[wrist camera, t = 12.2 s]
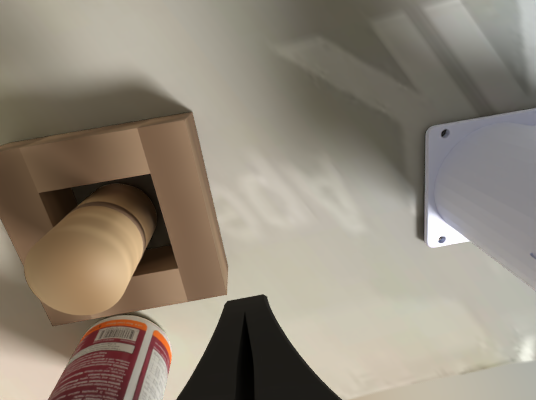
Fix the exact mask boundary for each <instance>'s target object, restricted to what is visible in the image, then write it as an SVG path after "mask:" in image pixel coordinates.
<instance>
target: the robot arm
mask: <svg viewBox="0 0 536 400" xmlns="http://www.w3.org/2000/svg"><path fill="white" fill-rule="evenodd" d="M444 129H446V134H445V135H444V136H442V137H441V132H442V131H443V130H444ZM441 236H443V237H442V239H441V240H439V241H438V239H439V238H440V237H441ZM424 241H425V243H426V244H427V245H428V246H429V247H439V246H445V245H450V244H456V243H461V242H467V241H470V242H472V243H473V244H474V245H476V246H477V247H478V248H480V249H481V250H482V251H483V252H485V253H486V254H487V255H489V256H490V257H491V258H493V259H494V260H495V261H497V262H498V263H499V264H501V265H502V266H503V267H505V268H506V269H507V270H508V271H510V272H511V273H512V274H514V275H515V276H516V277H518V278H519V279H520V280H522V281H523V282H524V283H526V284H527V285H528V286H530V287H531V288H532V289H533V290H535V291H536V108H532V109H526V110H520V111H514V112H509V113H503V114H497V115H491V116H486V117H480V118H474V119H468V120H462V121H457V122H451V123H445V124H439V125H434V126H431V127H430V128H429V129H428V130H427V131H426V135H425V220H424ZM176 400H342V399H341V398H340V397H338V396H337V395H336V394H335V393H334V392H333V391H332V390H331V389H330V388H329V387H328V386H327V385H326V384H325V383H324V382H323V381H322V380H321V379H320V378H319V377H318V376H317V375H316V374H315V372H314V371H313V370H312V369H311V368H310V367H309V366H308V364H307V363H306V362H305V361H304V360H303V358H302V357H301V356H300V355H299V353H298V352H297V351H296V349H295V348H294V347H293V345H292V344H291V342H290V341H289V339H288V338H287V336H286V335H285V333H284V332H283V330H282V329H281V327H280V325H279V324H278V322H277V320H276V318H275V316H274V314H273V312H272V310H271V308H270V306H269V303H268V299H267V296H265V295H258V296H252V297H247V298H242V299H236V300H231V301H227V302H226V304H225V305H224V309H223V311H222V314H221V317H220V319H219V322H218V324H217V327H216V329H215V331H214V333H213V336H212V338H211V340H210V342H209V344H208V346H207V348H206V350H205V352H204V354H203V356H202V358H201V360H200V361H199V363H198V365H197V367H196V369H195V371H194V372H193V374H192V376H191V377H190V379H189V381H188V382H187V384H186V386H185V387H184V389H183V390H182V392H181V393H180V395H179V396H178V398H177V399H176Z"/></svg>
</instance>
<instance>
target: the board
mask: <svg viewBox="0 0 536 400" xmlns="http://www.w3.org/2000/svg"><path fill="white" fill-rule="evenodd" d="M145 174H151V177H152V181H153V184H154V187H155V191H156V194H157V198H158V201H159V204H160V208H161V211H162V215H163V218H164V222H165V225H166V228H167V232H168V235H169V239H170V242H171V245H169V246H163V247H158V248H152V249H147V250H145V251H144V254H143V256H142V258H141V260H140V262H139V263H138V265H137V267H136V269H135V271H134V273H133V276H132V278H131V280H130V282H129V284H128V286H127V288H126V290H125V292H124V294H123V295H122V297H121V299H120V300H119V301H118V302H117V303H116V304H115V305H114V306H112V307H111V308H109V309H107V310H105V311H103V312H100V313H97V314H93V315H72V314H67V313H63V312H60V311H58V310H55V309H53V308H51V307H50V306H48V305H46V304H45V303H43V302H42V301H41V300H40V301H41V303H42V305H43V307H44V309H45V311H46V313H47V316H48V318H49V320H50V322H51V324H52V326H57V325H62V324H68V323H73V322H79V321H84V320H90V319H95V318H101V317H106V316H112V315H117V314H123V313H128V312H134V311H139V310H145V309H150V308H156V307H161V306H167V305H172V304H178V303H184V302H189V301H195V300H200V299H206V298H211V297H217V296H222V295H227V279H228V264H227V260H226V256H225V251H224V247H223V243H222V238H221V234H220V230H219V225H218V221H217V217H216V212H215V208H214V204H213V199H212V195H211V191H210V186H209V182H208V178H207V173H206V169H205V165H204V160H203V156H202V152H201V147H200V143H199V139H198V134H197V130H196V126H195V121H194V117H193V113H192V112H188V113H182V114H176V115H171V116H165V117H159V118H153V119H147V120H141V121H135V122H129V123H123V124H118V125H112V126H106V127H100V128H94V129H88V130H82V131H76V132H70V133H65V134H59V135H53V136H47V137H41V138H35V139H29V140H23V141H17V142H12V143H8V144H5V145H2V146H0V218H1V220H2V222H3V224H4V227H5V229H6V231H7V233H8V235H9V237H10V239H11V241H12V243H13V245H14V247H15V249H16V251H17V253H18V256H19V258H20V260H21V262H22V264H23V266H24V264H25V259H26V256H27V254H28V252H29V251H30V249H31V248H32V247H33V246H34V245H35V244H36V243H37V242H38V241H39V240H40V239H41V238H42V237H43V236H45V235H46V234H47V233H48V232H49V231H50V230H51V229H52V228H53V227H55V226H56V225H57V224H58V223H59V222H60V221H61V220H62V219H63V218H64V217H65V216H66V215H67V214H68V213H70V212H71V211H72V210H73V209H75V208H76V207H77V206H78V204H77V202H76V199H75V197H74V194H73V191H72V189H71V187H76V186H82V185H87V184H93V183H99V182H105V181H111V180H116V179H122V178H128V177H134V176H139V175H145Z"/></svg>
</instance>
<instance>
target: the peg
mask: <svg viewBox="0 0 536 400" xmlns="http://www.w3.org/2000/svg"><path fill="white" fill-rule="evenodd" d="M156 225H157V214H156V210H155V207H154V205H153V203H152V202H151V200H150V199H149V197H148V196H147V195H146V194H145V193H144V192H143V191H141V190H140V189H138V188H136V187H134V186H130V185H126V184H108V185H105V186H102V187H100V188H98V189H96V190H95V191H94V192H93V193H91V194H90V195H89V196H88V197H87V198H86V199H85V200H84V201H83V202H81V203H80V204H79V205H78V206H77V207H76V208H75V209H73V210H72V211H71V212H70V213H68V214H67V215H66V216H65V217H64V218H63V219H62V220H61V221H60V222H59V223H58V224H57V225H56V226H55V227H53V228H52V229H51V230H50V231H49V232H48V233H47V234H46V235H45V236H43V237H42V238H41V239H40V240H39V241H38V242H37V243H36V244H35V245H34V246H33V247H32V248H31V249H30V251H29V252H28V254H27V256H26V259H25V264H24V273H25V278H26V281H27V283H28V285H29V287H30V289H31V290H32V292H33V293H34V294H35V295H36V296H37V297H38V298H39V299H40V300H41V301H42V302H43V303H45V304H46V305H48V306H50V307H51V308H53V309H55V310H58V311H60V312H63V313H67V314H72V315H93V314H97V313H100V312H103V311H105V310H107V309H109V308H111V307H112V306H114V305H115V304H116V303H117V302H118V301H119V300H120V299H121V297H122V295H123V294H124V292H125V290H126V288H127V286H128V284H129V282H130V280H131V278H132V276H133V273H134V271H135V269H136V267H137V265H138V263H139V262H140V260H141V258H142V256H143V254H144V251H145V249H146V247H147V245H148V243H149V241H150V239H151V237H152V235H153V233H154V231H155V228H156Z"/></svg>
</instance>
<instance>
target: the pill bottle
mask: <svg viewBox="0 0 536 400" xmlns="http://www.w3.org/2000/svg"><path fill="white" fill-rule="evenodd" d="M171 358H172V348H171V344H170V341H169V339H168V337H167V335H166V334H165V332H164V331H163V330H162V329H161V328H160V327H158V326H157V325H156V324H154V323H153V322H151V321H149V320H147V319H145V318H142V317H138V316H132V315H120V316H113V317H109V318H106V319H104V320H101V321H99V322H97V323H96V324H94V325H93V326H92V327H91V328H89V329H88V331H87V332H86V333H85V334H84V336H83V337H82V339H81V341H80V343H79V344H78V346H77V348H76V350H75V352H74V353H73V355H72V357H71V359H70V361H69V362H68V364H67V366H66V368H65V370H64V372H63V373H62V375H61V377H60V379H59V380H58V382H57V384H56V386H55V388H54V390H53V391H52V393H51V395H50V397H49V399H48V400H163V396H164V392H165V387H166V382H167V378H168V373H169V368H170V364H171Z"/></svg>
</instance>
